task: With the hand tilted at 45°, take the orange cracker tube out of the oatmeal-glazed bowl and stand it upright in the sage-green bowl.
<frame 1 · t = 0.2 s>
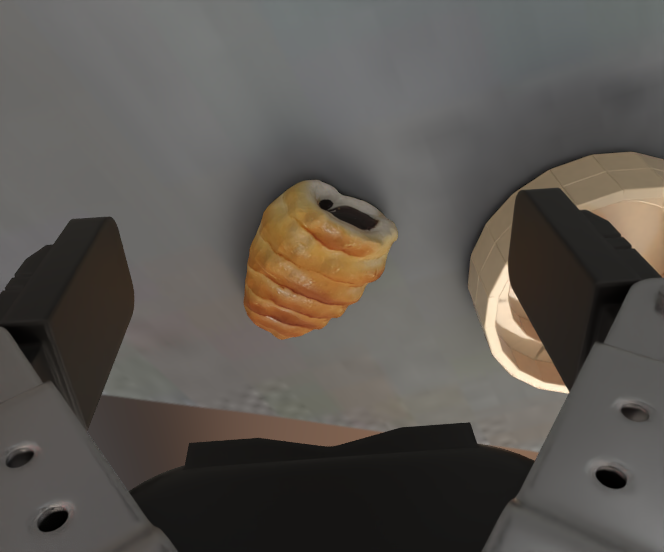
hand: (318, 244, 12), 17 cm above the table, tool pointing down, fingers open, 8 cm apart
pastry: (315, 244, 33), on the table
oatmeal bowl: (582, 256, 35), on the table
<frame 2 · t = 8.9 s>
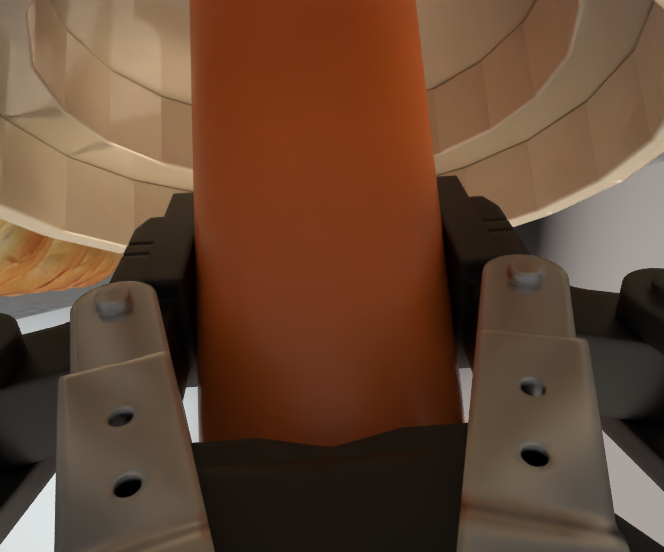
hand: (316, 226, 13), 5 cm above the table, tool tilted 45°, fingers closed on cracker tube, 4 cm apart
cracker tube: (302, 1, 12), point 1 cm above the table, touching gripper, oatmeal bowl
pastry: (3, 190, 22), on the table
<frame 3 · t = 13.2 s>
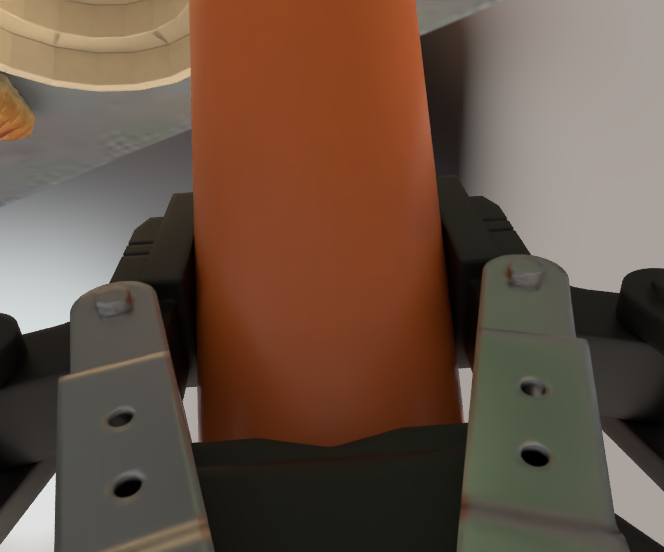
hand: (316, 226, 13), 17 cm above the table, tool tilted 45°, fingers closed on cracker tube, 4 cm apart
cracker tube: (302, 1, 12), point 13 cm above the table, touching gripper
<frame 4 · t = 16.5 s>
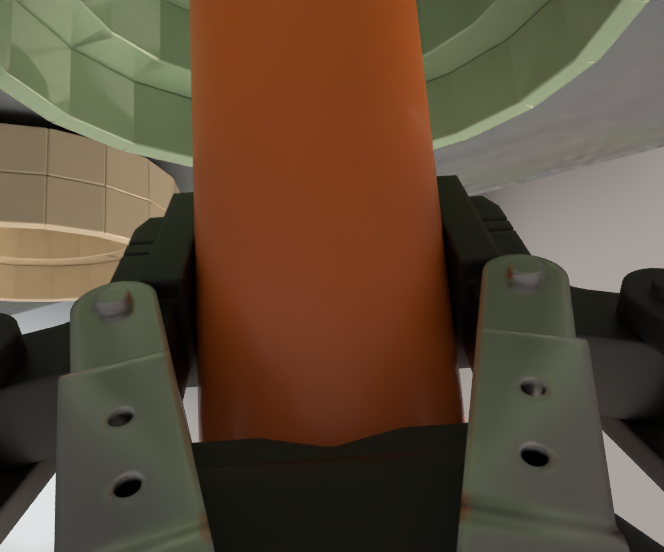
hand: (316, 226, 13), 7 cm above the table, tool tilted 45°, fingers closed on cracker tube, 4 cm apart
cracker tube: (302, 1, 12), point 3 cm above the table, touching gripper
oatmeal bowl: (29, 181, 28), on the table
when the fingers open (5 cm above the table, at t = 17.8 s): cracker tube stays where it is, resting on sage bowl.
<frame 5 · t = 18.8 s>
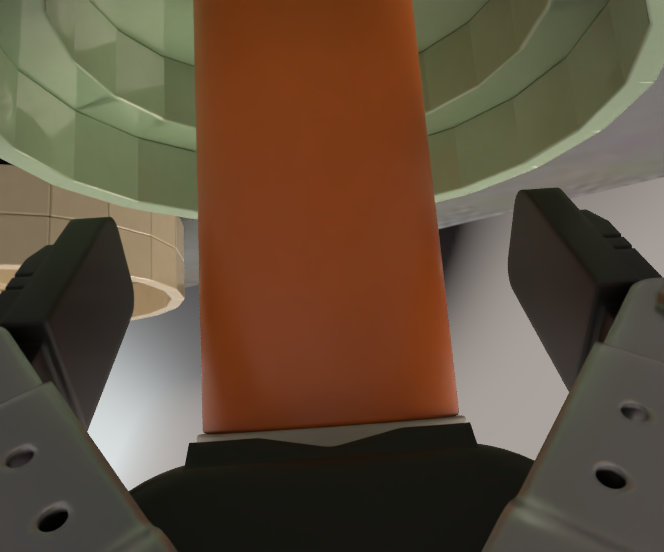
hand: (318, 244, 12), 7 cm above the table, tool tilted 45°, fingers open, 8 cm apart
oatmeal bowl: (31, 212, 28), on the table
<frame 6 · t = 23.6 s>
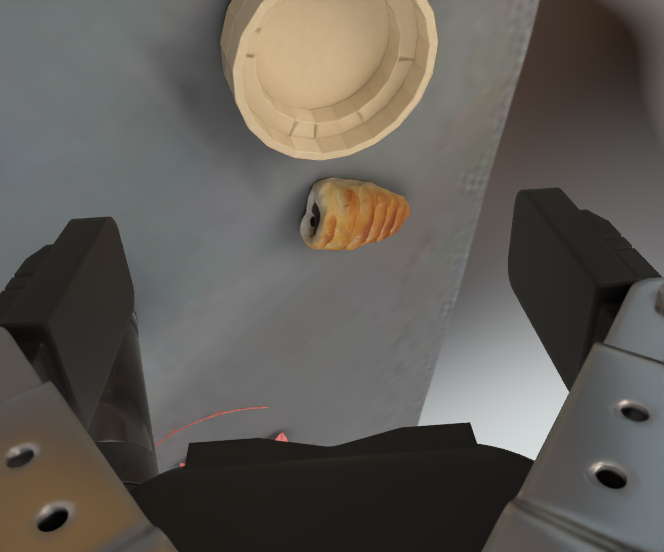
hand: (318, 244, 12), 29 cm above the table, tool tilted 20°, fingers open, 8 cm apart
pastry: (344, 202, 53), on the table
oatmeal bowl: (318, 40, 41), on the table
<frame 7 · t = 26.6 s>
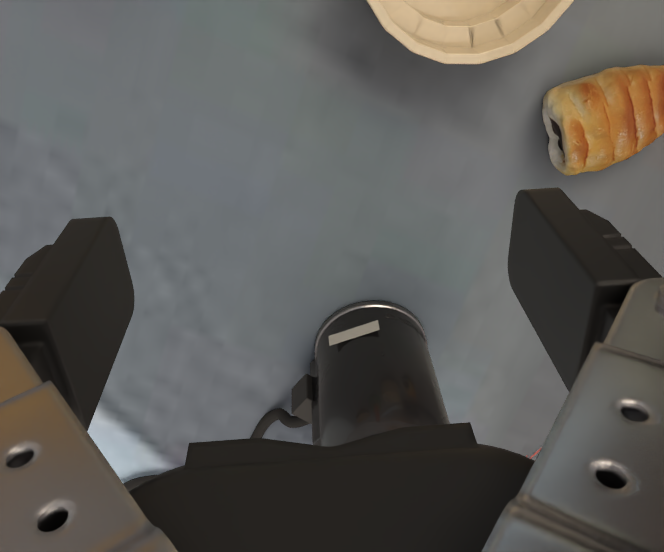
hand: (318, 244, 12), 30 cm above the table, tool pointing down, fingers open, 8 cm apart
pastry: (596, 109, 43), on the table
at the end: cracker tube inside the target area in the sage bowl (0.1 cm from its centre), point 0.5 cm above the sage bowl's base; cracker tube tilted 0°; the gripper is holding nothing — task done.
